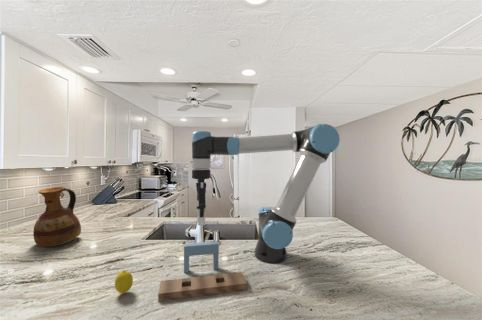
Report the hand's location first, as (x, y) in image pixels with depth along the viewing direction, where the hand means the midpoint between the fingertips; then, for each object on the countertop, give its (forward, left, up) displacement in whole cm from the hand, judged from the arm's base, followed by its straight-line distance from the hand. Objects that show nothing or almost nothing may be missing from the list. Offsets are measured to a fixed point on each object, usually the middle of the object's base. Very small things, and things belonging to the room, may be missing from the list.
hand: (200, 220), depth 98 cm
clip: (0, 0, -21) cm, 21 cm away
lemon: (+27, +11, -21) cm, 36 cm away
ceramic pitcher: (+73, -46, -21) cm, 88 cm away
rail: (0, +14, -21) cm, 25 cm away
